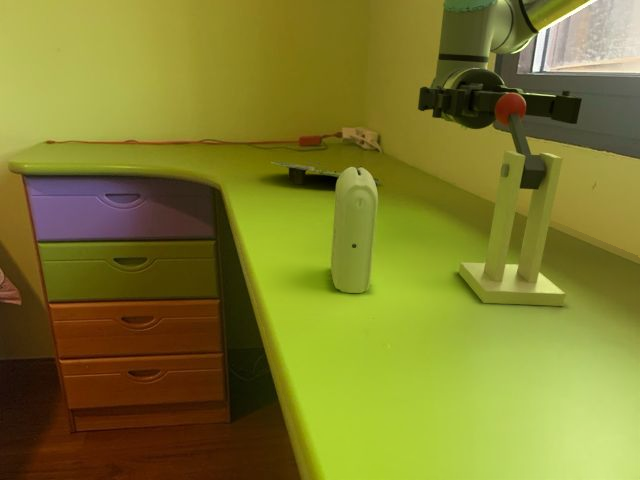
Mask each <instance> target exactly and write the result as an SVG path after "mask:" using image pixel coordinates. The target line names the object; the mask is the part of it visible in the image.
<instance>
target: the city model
mask: <svg viewBox="0 0 640 480" xmlns="http://www.w3.org/2000/svg"><path fill="white" fill-rule="evenodd" d="M270 163H271V164H273V165H274V164H275V165H279V166H283V167H285V168H287V169H288V180H289V181H293V183H294V184H298V185H303V183H304V178H305V176H306V173H307V171H309V172H313V173H317V174H320V175H323V176H330V177H333V178H339V176H340V175H341V173H342V172H343V171H344V170H346V165H344V166H343V169H342V172H337V171H336V170H335V171H333V170H332V171H331V169H330V170H326V169H324V170H323V169H320V170H319V169H318V167H319V166H317V167H316V168H315V166H314V167H313V166H309V164H310V165H312V162H311V160H307V163H306V165H304V164H303V165H301V164H297V163H287V162H280V161H275V162H272V161H270ZM327 163H328V162H325V164H324V165H323V167H325V168H329V167H328V166H327ZM316 164H320V161H317V163H316ZM358 168H363V167H362V166H361V165H360V166H359V167H358ZM372 177H373V176H372ZM373 179H374V182H375V184H377V185H380V184H381V180H379V179H378V178H376V177H373ZM383 181H384V179H383Z"/></svg>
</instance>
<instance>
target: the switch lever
mask: <svg viewBox="0 0 640 480" xmlns="http://www.w3.org/2000/svg"><path fill="white" fill-rule="evenodd" d="M525 113H526V102H525V100H524V98H523V97H522V96H521V95H519V94H517V93H508V92H507V94H505V95H503V96H502V97H501V98H500V99H499V100H498V102H497V103H496V106H495V116H496V119H497V120H496V121H497V122H498V123H499V124H501V125H503V126H505V127H508V128H509V132H510V135H511V138H512V141H513V145H514V147H515V152H517V153H519V154H522V155H524V156H525V161H524V167H523V172H522V178H521V183H520V189H521V190H522V189H523V190H533V189H537V190H538V189H539V186H540V184H541V181H542V179H543V176H544V174H545V171H546V170H545V167H544V164H543V161H542V158H541V155H540V154H532V152H531V148H530V145H529V143H528V139H527V137H526V133H525V130H524V127H523V123H522V120H523V119H524V116H526V115H525ZM520 189H519V190H520Z"/></svg>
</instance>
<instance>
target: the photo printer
mask: <svg viewBox="0 0 640 480" xmlns="http://www.w3.org/2000/svg"><path fill="white" fill-rule="evenodd" d="M343 170H344V169H343ZM343 170H342V171H341V172H340V173H341V175H340V176H339V177H337V180H336V183H335V191H334V194H335V195H334V197H335V198H334V211H333V227H332V228H333V229H332V241H331V242H332V243H331V256H330V272H331V278H332V282H333V285H334V288H335V289H336V290H339V291H340V292H342V293H347V294H362V293H364V292H365V291H368V290H369V287H370V282H371V277H372V276H371V275H372V266H373V258H374V257H373V256H374V247H375V246H374V245H375V235H376V225H377V216H378V215H377V214H378V205H379V204H378V203H379V195H378V193H379V192H378V189H377V185H376V184H377V183H375V182H374V179H373V176H372V174H371V173H370V172H369V171H368V170H367V169H366V168H364V167H361V168H359V167H358V168H356V167H355V166H350V167H347V168H345V170H344V171H343Z"/></svg>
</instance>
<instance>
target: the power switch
mask: <svg viewBox="0 0 640 480" xmlns="http://www.w3.org/2000/svg"><path fill="white" fill-rule="evenodd" d="M539 155H541V158H542V161H543V164H544V167H545V170H546V171H545V174H544V176H543V179H542V181H541V184H540V186H539V189H538V190H537V189H532V192H531V197H530V202H529V207H528V212H527V218H526V223H525V227H524V233H523V234H524V235H523V238H522V245H521V249H520V254H519V258H518V263H517V264H513V263H507V258H508V253H509V247H510V242H511V238H512V237H511V235H512V231H513V227H514V220H515V215H516V209H517V205H518V200H519V194H520V183H521V178H522V172H523V167H524V161H525V156H524V155H522V154H519V153H517V152H516V151H514V150H504V151H503V157H502V164H501V168H500V176H499V181H498V187H497V193H496V199H495V204H494V211H493V214H492V215H493V216H492V222H491V228H490V234H489V240H488V246H487V251H486V257H485V262H470V261H469V262H468V261H467V262H466V261H460V263H459V267H458V274H459V276H461V278H462V279H463V280H464V282H466V284H467V285H468V286H469V287H470V289H471V290H472V291H473V292H474V294H475V295H476V296H477V297H478V298H479V299H480V301H481V302H482V303H483V304H501V305H502V304H504V305H525V306H547V307H548V306H549V307H551V306H552V307H556V306H557V307H563V306H564V304H565V300H566V296H567V295H566V292H564V291H563V290H562V289H561V288H559V287H558V286H557V285H556V284H554V283H553V282H552V281H551V280H549V279H548V278H547V277H546V276H544V275H543V274H542V273H541V272H540V270H541V265H542V259H543V255H544V250H545V246H546V240H547V235H548V230H549V227H550V221H551V216H552V212H553V207H554V202H555V198H556V192H557V188H558V182H559V178H560V173H561V170H562V169H561V168H562V164H563V159H564V158H563V157H561V156H558V155H555V154H552V153H550V152H539Z"/></svg>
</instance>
